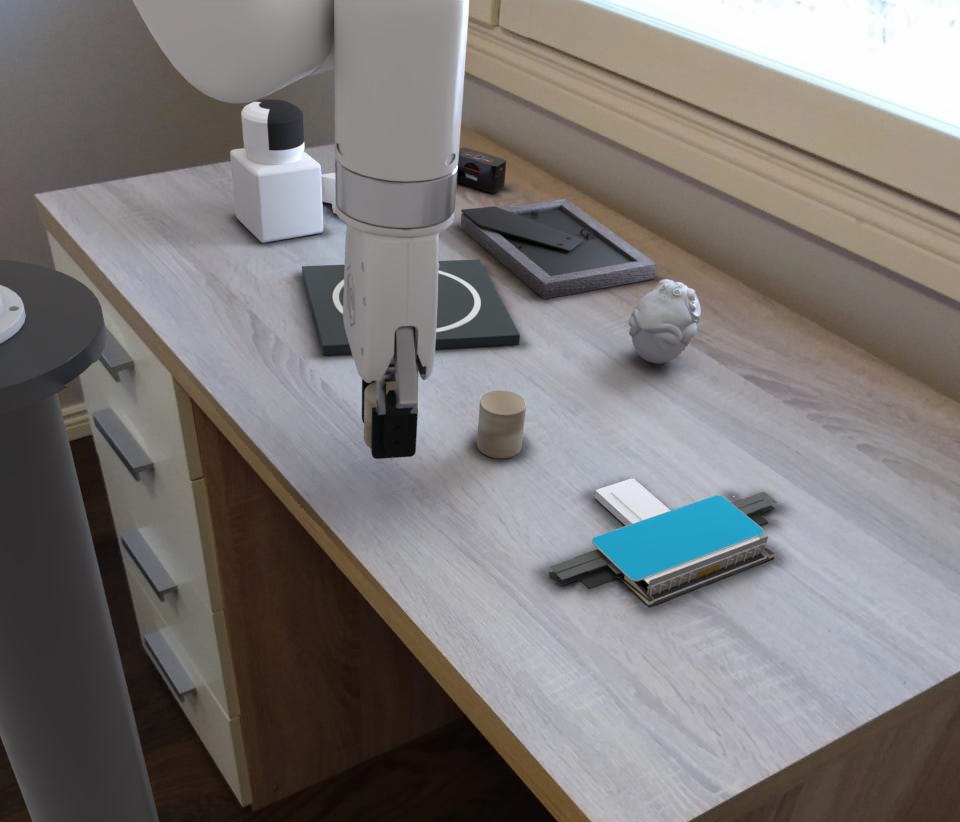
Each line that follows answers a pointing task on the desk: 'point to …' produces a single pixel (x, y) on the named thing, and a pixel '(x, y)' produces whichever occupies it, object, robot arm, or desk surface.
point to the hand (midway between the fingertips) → (388, 436)
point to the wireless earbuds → (481, 170)
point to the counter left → (369, 404)
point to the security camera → (276, 174)
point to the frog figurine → (664, 321)
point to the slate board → (460, 309)
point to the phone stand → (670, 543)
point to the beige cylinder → (501, 424)
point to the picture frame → (556, 247)
